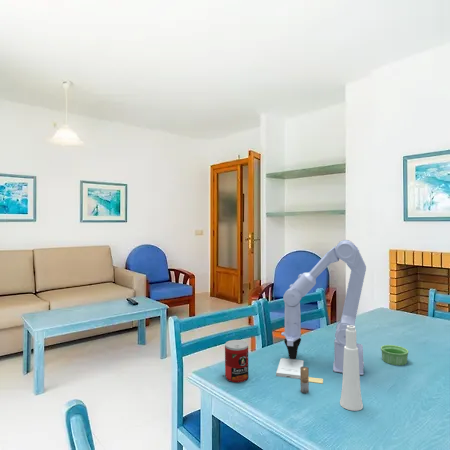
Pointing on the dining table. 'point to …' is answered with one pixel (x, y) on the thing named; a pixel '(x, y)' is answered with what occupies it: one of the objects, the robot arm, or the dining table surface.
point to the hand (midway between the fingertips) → (292, 359)
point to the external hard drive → (289, 368)
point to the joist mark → (315, 380)
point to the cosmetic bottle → (351, 373)
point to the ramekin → (394, 354)
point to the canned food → (236, 360)
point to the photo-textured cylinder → (304, 379)
